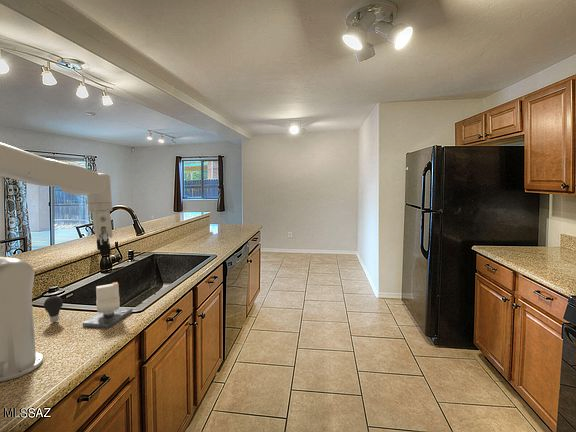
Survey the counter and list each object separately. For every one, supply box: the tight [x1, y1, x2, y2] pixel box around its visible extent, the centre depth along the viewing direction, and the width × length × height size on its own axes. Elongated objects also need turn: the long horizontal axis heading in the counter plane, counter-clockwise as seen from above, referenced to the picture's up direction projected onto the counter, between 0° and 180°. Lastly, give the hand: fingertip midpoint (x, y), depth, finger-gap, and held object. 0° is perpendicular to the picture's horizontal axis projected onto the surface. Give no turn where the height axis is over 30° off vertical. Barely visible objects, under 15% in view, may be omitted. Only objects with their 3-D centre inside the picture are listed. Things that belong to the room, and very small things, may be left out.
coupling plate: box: [82, 307, 133, 329], centre depth 116 cm, size 14×10×4 cm
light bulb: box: [43, 295, 64, 323], centre depth 112 cm, size 6×6×10 cm
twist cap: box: [95, 281, 121, 313], centre depth 115 cm, size 8×8×9 cm
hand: (103, 252), depth 113 cm, fingers open, 9 cm apart
